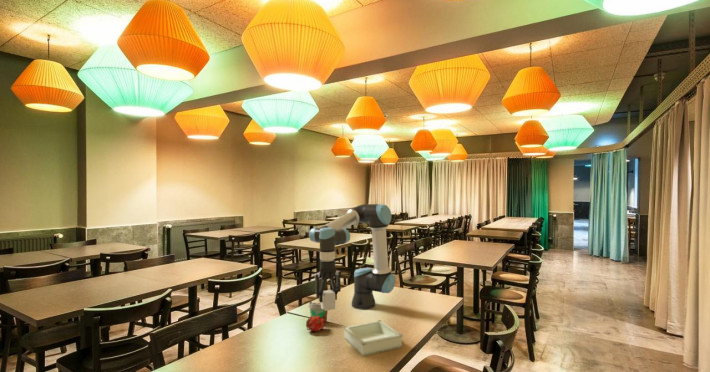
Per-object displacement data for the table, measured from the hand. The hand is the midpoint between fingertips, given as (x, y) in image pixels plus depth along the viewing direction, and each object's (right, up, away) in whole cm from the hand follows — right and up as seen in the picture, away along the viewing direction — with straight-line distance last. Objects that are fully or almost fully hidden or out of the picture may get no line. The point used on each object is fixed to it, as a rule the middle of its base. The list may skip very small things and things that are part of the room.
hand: (328, 307), depth 167 cm
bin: (+21, -16, -4) cm, 27 cm away
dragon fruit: (-7, -16, +12) cm, 21 cm away
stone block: (0, 0, 0) cm, 0 cm away
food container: (-8, -16, +23) cm, 30 cm away
